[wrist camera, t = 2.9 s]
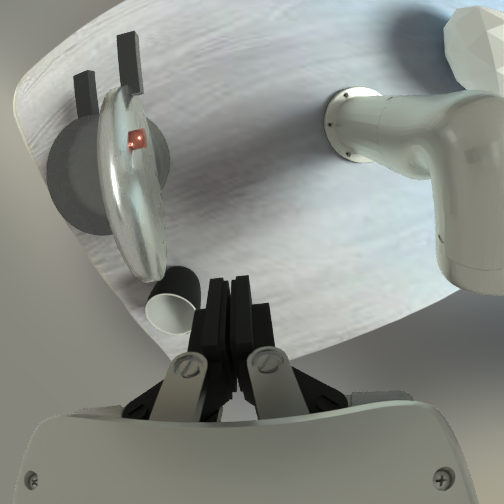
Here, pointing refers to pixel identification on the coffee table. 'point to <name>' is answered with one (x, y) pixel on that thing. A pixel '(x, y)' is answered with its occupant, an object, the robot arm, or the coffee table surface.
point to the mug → (174, 301)
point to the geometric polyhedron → (476, 48)
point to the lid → (131, 170)
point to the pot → (87, 163)
